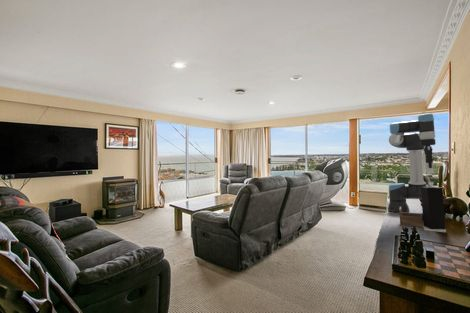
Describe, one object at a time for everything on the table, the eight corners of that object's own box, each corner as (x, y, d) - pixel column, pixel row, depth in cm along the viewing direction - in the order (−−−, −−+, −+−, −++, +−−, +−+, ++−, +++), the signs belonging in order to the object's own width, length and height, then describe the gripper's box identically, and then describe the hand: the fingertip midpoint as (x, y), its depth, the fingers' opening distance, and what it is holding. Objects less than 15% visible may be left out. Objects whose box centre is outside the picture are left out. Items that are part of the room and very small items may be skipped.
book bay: (400, 220, 169) (399, 206, 170) (422, 222, 162) (420, 207, 163) (400, 224, 159) (399, 209, 160) (422, 226, 152) (421, 211, 153)
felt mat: (423, 226, 153) (423, 224, 153) (444, 228, 147) (444, 226, 147) (424, 230, 145) (424, 228, 145) (446, 232, 139) (446, 230, 139)
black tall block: (445, 229, 141) (442, 182, 142) (430, 229, 143) (427, 182, 144) (437, 226, 149) (434, 181, 150) (423, 225, 151) (419, 181, 152)
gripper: (419, 140, 160) (421, 172, 160) (420, 138, 140) (423, 174, 140) (433, 139, 156) (436, 171, 155) (436, 137, 136) (439, 174, 135)
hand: (429, 173), depth 147 cm, fingers open, 13 cm apart
